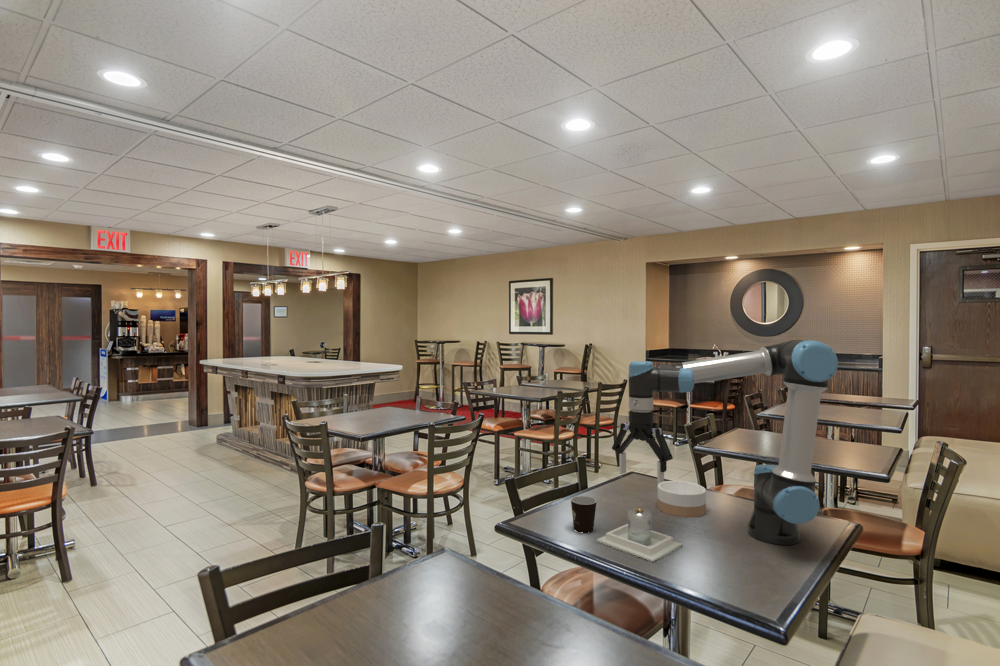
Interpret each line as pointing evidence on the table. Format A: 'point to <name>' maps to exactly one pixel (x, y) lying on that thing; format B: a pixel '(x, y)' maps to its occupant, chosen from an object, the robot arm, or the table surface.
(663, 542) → the guarded tray
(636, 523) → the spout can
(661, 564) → the table surface
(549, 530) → the table surface
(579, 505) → the coffee mug
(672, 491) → the bowl
